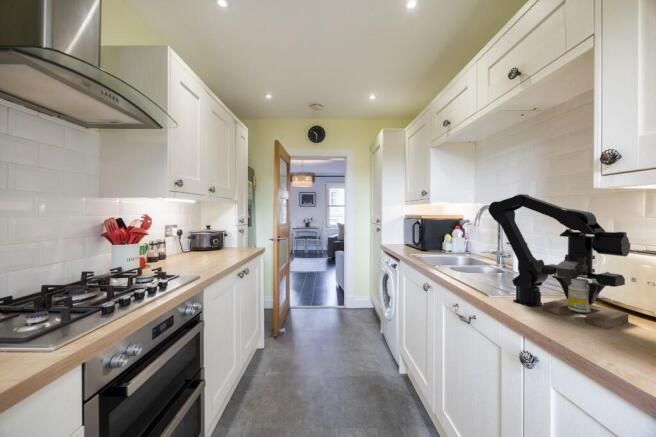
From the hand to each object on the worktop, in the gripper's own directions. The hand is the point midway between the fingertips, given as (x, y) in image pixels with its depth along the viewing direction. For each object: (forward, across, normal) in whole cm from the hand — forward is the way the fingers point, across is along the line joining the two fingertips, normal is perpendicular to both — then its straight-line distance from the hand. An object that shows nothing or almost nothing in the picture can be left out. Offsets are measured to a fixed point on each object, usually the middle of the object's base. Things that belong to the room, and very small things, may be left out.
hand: (579, 301), depth 87 cm
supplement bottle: (+3, 0, 0) cm, 3 cm away
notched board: (+5, 0, +2) cm, 5 cm away
